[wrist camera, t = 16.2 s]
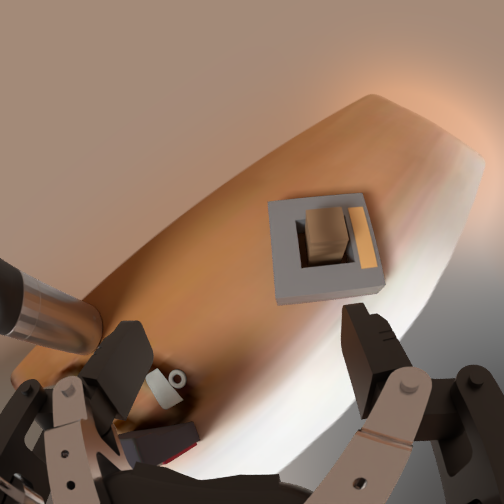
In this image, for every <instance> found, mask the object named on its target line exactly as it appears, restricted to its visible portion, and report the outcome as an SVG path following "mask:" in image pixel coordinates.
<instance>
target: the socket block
mask: <svg viewBox="0 0 504 504" xmlns="http://www.w3.org/2000/svg"><path fill="white" fill-rule="evenodd" d="M332 207H342V211H343V215H344V220H345V224H346V229H347V233H348V238H349V240H348V243H347V246H346V254H347V260H348V263H344V264H336V265H327V266H318V267H309V268H301V261H300V253H299V245H298V237H297V234H298V233H305V219H306V210H310V209H321V208H332ZM268 211H269V223H270V234H271V246H272V258H273V271H274V284H275V297H276V301H277V305H278V306H279V305H289V304H299V303H308V302H317V301H326V300H334V299H342V298H349V297H357V296H364V295H371V294H377V293H378V292H379V291H380V290H381V289H382V288H383V287H384V286H385V285H386V284H385V279H384V274H383V270H382V265H381V260H380V256H379V252H378V248H377V244H376V240H375V236H374V232H373V228H372V224H371V221H370V217H369V214H368V210H367V207H366V203H365V200H364V197H363V194H362V193H353V194H340V195H329V196H318V197H307V198H297V199H288V200H279V201H270V202H268Z"/></svg>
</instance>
